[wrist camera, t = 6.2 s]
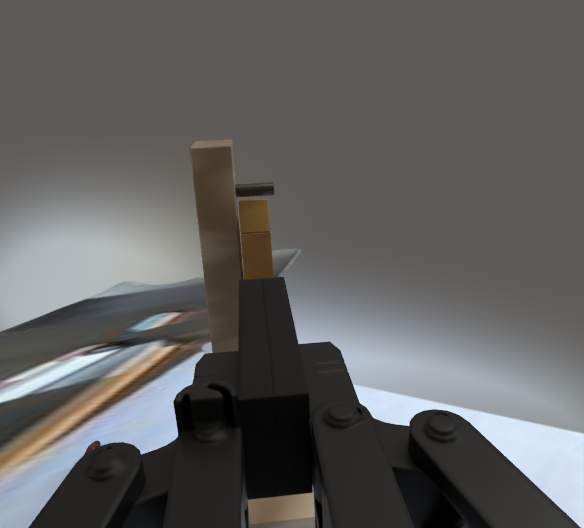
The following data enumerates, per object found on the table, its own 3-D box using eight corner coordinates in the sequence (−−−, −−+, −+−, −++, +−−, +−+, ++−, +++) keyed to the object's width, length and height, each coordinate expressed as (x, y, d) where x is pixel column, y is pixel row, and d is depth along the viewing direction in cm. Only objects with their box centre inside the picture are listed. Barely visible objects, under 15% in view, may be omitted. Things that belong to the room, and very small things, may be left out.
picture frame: (256, 452, 23) (238, 200, 23) (255, 373, 39) (244, 223, 39) (285, 449, 24) (267, 198, 23) (272, 371, 40) (262, 221, 39)
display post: (216, 543, 35) (166, 158, 25) (221, 445, 44) (186, 135, 34) (328, 530, 36) (322, 149, 26) (310, 436, 45) (300, 129, 35)
